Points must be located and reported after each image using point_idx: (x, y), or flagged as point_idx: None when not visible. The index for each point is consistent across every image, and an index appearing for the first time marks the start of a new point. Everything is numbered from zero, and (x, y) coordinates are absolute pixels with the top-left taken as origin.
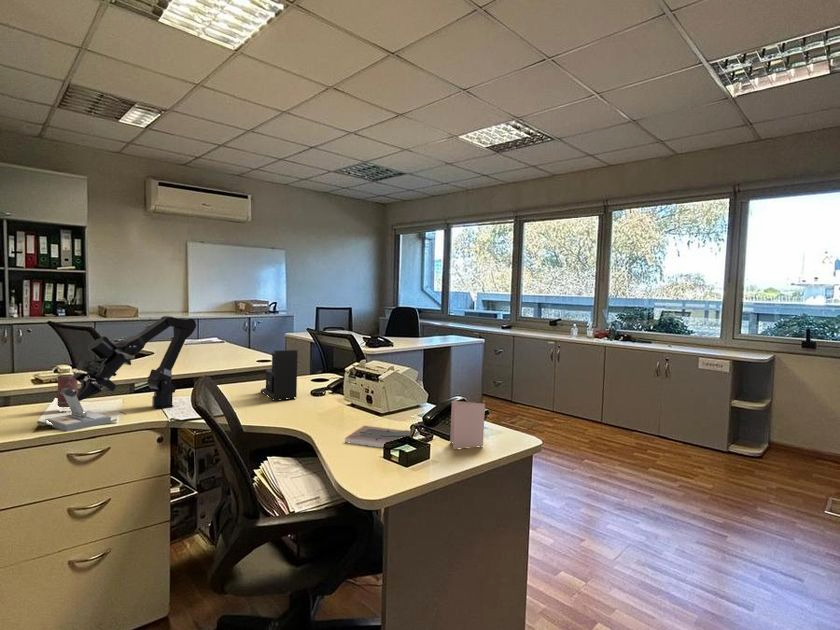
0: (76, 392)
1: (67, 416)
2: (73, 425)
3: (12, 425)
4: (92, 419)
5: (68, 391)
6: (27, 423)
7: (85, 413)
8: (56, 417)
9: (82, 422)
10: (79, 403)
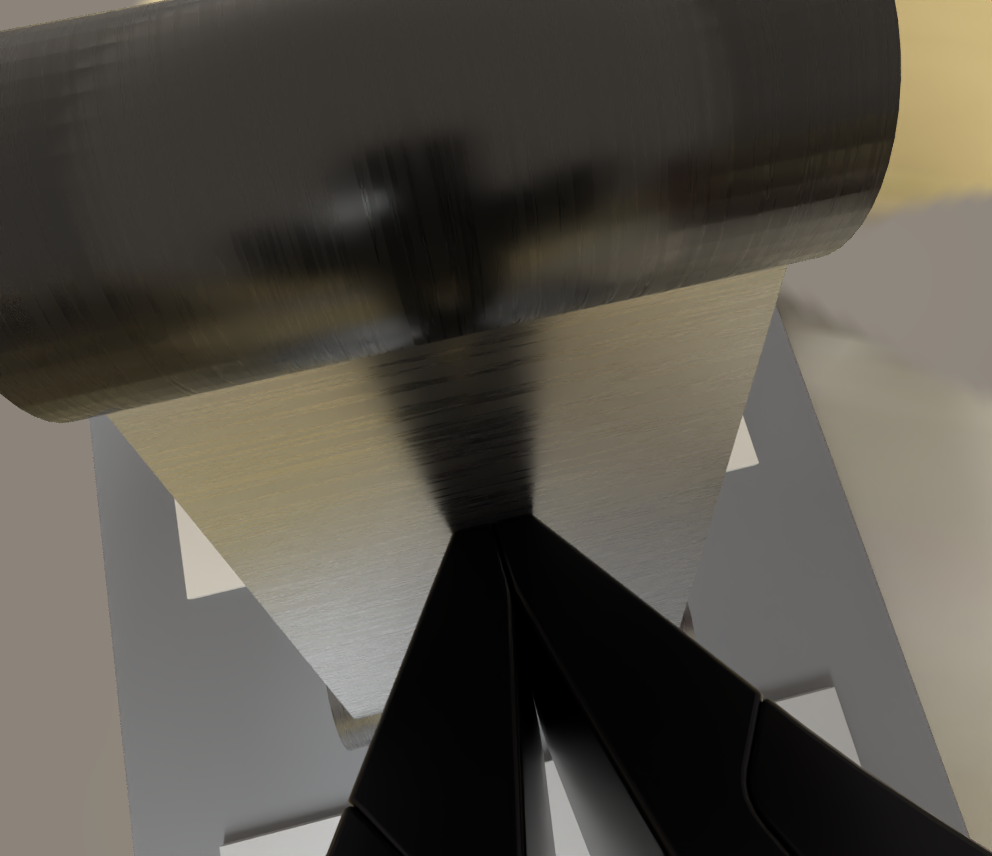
0: (30, 409)
1: (753, 515)
2: (106, 473)
3: (920, 2)
4: (216, 815)
5: (60, 28)
6: (938, 130)
7: (344, 735)
8: (777, 367)
9: (116, 611)
10: (276, 604)
